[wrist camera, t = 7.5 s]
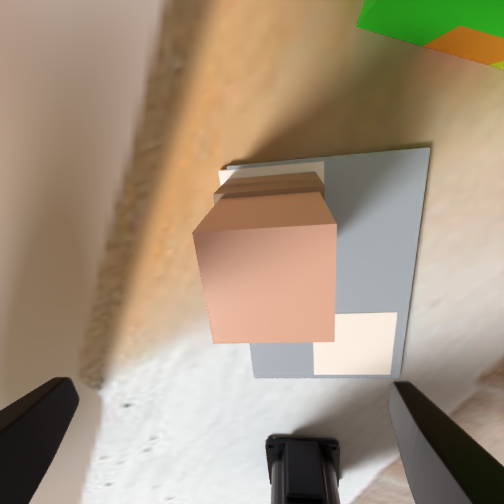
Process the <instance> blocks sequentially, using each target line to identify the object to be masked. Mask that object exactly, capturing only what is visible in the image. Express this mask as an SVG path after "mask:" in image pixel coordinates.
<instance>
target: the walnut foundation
mask: <svg viewBox="0 0 504 504" xmlns="http://www.w3.org/2000/svg"><path fill="white" fill-rule="evenodd" d="M308 192H320V194H321V196H322V197H323V199H324V201H325V185H324V184H323V182H322V181H321V179H320V178H319V176H318V175H317V173H316V172H315V171H314V172H303V173H291V174H280V175H268V176H257V177H246V178H234V179H227V181H226V182H225V183H224V184H223V185H222V186H221V187H220V188H219V189H218V190H217V191H216V192H215V193H214V194H213V196H214V203H215V204H216V203H217V202H218V201H219V199H227V198H241V197H254V196H267V195H281V194H294V193H308Z"/></svg>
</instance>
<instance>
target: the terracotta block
mask: <svg viewBox="0 0 504 504" xmlns="http://www.w3.org/2000/svg"><path fill="white" fill-rule="evenodd" d="M192 233H193V238H194V244H195V249H196V254H197V259H198V265H199V270H200V275H201V281H202V286H203V291H204V297H205V302H206V307H207V313H208V318H209V323H210V329H211V334H212V339H213V344H215V343H301V342H335V292H336V243H337V223H336V221H335V219H334V218H333V216H332V214H331V212H330V210H329V208H328V207H327V205H326V203H325V201H324V199H323V197H322V196H321V194H320V192H308V193H294V194H281V195H267V196H254V197H241V198H227V199H219V201H218V202H217V203H216V204H215V206H214V207H213V208H212V209H211V210H210V212H209V213H208V214H207V215H206V217H205V218H204V219H203V220H202V221H201V223H200V224H199V225H198V226H197V228H196V229H195V230H194V231H193V232H192Z"/></svg>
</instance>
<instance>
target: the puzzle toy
mask: <svg viewBox="0 0 504 504" xmlns="http://www.w3.org/2000/svg"><path fill="white" fill-rule="evenodd" d="M356 27H359V28H362V29H365V30H369V31H372V32H376V33H379V34H383V35H386V36H390V37H393V38H396V39H400V40H403V41H407V42H410V43H414V44H417V45H421V46H424V47H427V48H431V49H434V50H438V51H441V52H445V53H448V54H452V55H455V56H458V57H462V58H465V59H469V60H472V61H476V62H479V63H483V64H486V65H490V66H493V67H496V68H500V69H503V70H504V0H365V2H364V5H363V8H362V11H361V14H360V17H359V20H358V23H357V26H356Z"/></svg>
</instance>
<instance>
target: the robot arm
mask: <svg viewBox="0 0 504 504" xmlns="http://www.w3.org/2000/svg"><path fill="white" fill-rule="evenodd" d="M78 405H79V395H78V393H77V390H76V388H75V386H74V384H73V381H72V379H71V378H69V377H55V378H53V379H51V380H49V381H48V382H46V383H44V384H43V385H41V386H39V387H38V388H36V389H35V390H33V391H31V392H30V393H28V394H26V395H25V396H23V397H22V398H20V399H18V400H17V401H15V402H14V403H12V404H11V405H9V406H7V407H6V408H4V409H2V410H1V411H0V504H29V502H30V501H31V499H32V497H33V495H34V493H35V492H36V490H37V488H38V486H39V484H40V483H41V481H42V479H43V477H44V476H45V474H46V472H47V470H48V468H49V466H50V465H51V463H52V461H53V459H54V457H55V455H56V453H57V450H58V448H59V446H60V444H61V442H62V440H63V437H64V435H65V433H66V431H67V429H68V426H69V424H70V422H71V420H72V418H73V416H74V413H75V411H76V409H77V407H78ZM389 412H390V416H391V420H392V424H393V428H394V432H395V436H396V439H397V443H398V447H399V451H400V455H401V458H402V462H403V466H404V470H405V473H406V477H407V480H408V483H409V486H410V489H411V492H412V495H413V498H414V500H415V503H416V504H504V466H503V465H502V464H500V463H499V462H498V461H497V460H496V459H495V458H494V457H493V456H492V455H491V454H489V453H488V452H487V451H486V450H485V449H484V448H483V447H482V446H481V445H480V444H478V443H477V442H476V441H475V440H474V439H473V438H472V437H471V436H470V435H469V434H467V433H466V432H465V431H464V430H463V429H462V428H461V427H460V426H459V425H458V424H456V423H455V422H454V421H453V420H452V419H451V418H450V417H449V416H448V415H446V414H445V413H444V412H443V411H442V410H441V409H440V408H439V407H438V406H437V405H435V404H434V403H433V402H432V401H431V400H430V399H429V398H428V397H427V396H426V395H424V394H423V393H422V392H421V391H420V390H419V389H418V388H417V387H416V386H415V385H413V384H412V383H411V382H409V381H393V382H392V384H391V389H390V397H389ZM265 447H266V455H267V463H268V471H269V479H270V484H271V485H272V486H271V504H340V499H339V493H338V486H339V455H340V447H339V443H338V441H336V440H314V439H276V438H269V439H267V440H266V445H265Z"/></svg>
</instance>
